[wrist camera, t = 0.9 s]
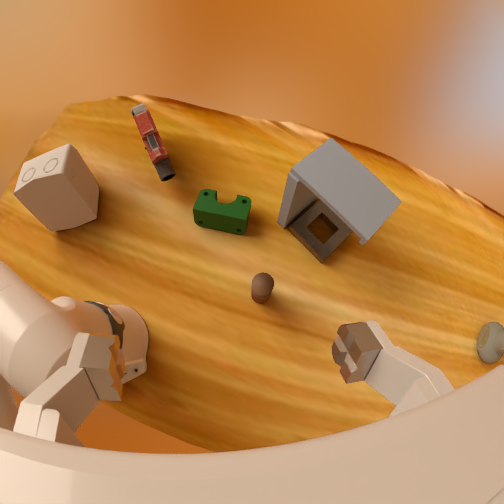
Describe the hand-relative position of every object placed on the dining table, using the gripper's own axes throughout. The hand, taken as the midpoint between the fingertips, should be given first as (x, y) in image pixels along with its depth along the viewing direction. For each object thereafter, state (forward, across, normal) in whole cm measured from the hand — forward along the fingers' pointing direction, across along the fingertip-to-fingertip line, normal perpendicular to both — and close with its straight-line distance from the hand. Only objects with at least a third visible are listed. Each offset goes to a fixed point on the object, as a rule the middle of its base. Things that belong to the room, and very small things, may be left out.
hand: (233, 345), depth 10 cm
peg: (+40, +13, -28) cm, 50 cm away
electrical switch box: (+65, -32, -16) cm, 74 cm away
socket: (+47, +27, -17) cm, 57 cm away
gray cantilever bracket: (+47, +27, -17) cm, 57 cm away
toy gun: (+67, -9, -8) cm, 68 cm away
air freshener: (+18, +70, -34) cm, 80 cm away
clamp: (+54, +6, -17) cm, 57 cm away
